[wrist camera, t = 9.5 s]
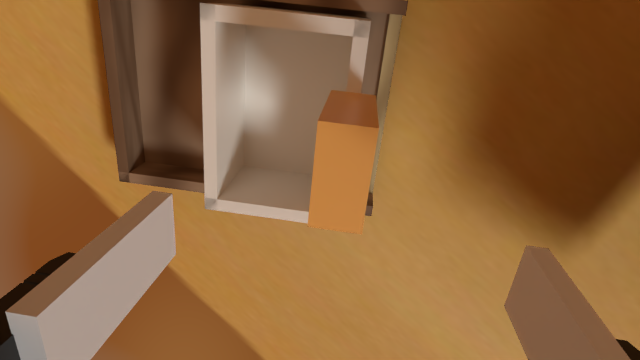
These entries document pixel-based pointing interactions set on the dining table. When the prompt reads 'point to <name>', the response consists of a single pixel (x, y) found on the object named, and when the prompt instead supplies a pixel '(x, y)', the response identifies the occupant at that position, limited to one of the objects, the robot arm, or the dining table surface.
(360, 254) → the dining table surface
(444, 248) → the dining table surface
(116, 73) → the bay
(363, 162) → the box
